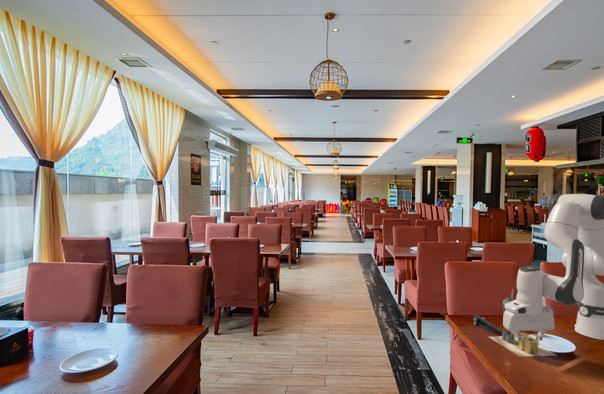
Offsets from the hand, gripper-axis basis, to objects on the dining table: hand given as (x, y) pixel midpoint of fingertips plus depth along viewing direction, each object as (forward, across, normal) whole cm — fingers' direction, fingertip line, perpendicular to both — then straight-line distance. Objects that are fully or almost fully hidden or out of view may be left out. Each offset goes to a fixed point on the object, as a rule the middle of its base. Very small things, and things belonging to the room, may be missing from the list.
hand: (528, 340), depth 132 cm
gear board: (+5, 0, -4) cm, 6 cm away
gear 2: (+4, 0, 0) cm, 4 cm away
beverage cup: (+5, -10, -22) cm, 25 cm away
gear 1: (+4, 0, -8) cm, 9 cm away
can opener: (+6, +2, -22) cm, 22 cm away
